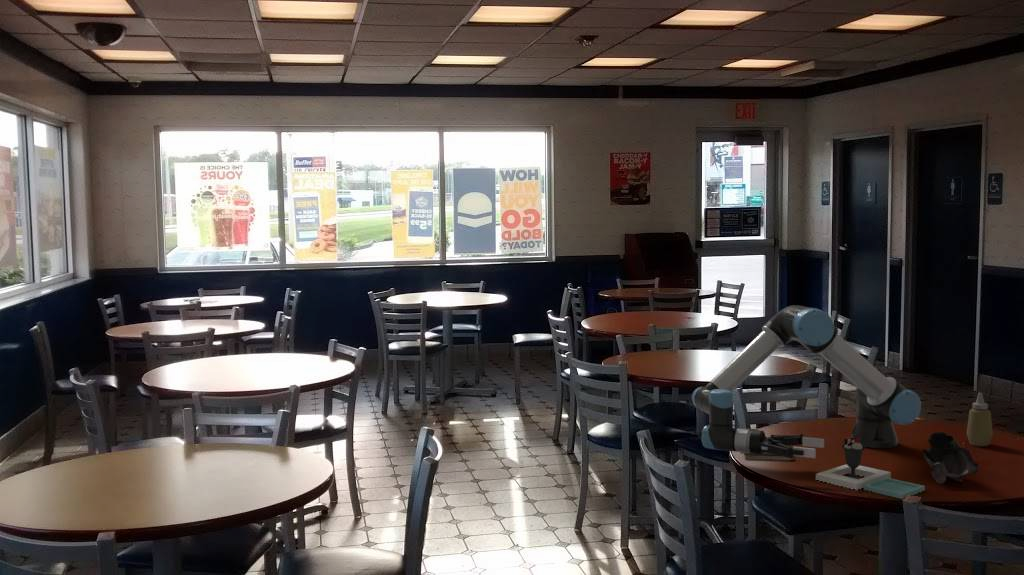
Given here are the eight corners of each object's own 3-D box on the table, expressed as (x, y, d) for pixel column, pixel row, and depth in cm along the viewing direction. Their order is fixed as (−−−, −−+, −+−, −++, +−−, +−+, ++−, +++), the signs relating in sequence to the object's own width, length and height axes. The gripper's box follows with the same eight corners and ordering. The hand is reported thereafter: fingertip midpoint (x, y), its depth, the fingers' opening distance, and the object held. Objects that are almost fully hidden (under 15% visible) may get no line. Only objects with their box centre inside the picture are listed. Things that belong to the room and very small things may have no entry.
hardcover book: (744, 460, 313) (744, 454, 313) (741, 443, 336) (741, 437, 335) (794, 462, 310) (794, 455, 310) (788, 445, 332) (788, 438, 332)
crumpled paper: (985, 486, 275) (958, 470, 295) (980, 436, 275) (953, 424, 295) (936, 490, 277) (912, 474, 296) (931, 441, 276) (908, 428, 296)
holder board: (849, 469, 298) (849, 463, 298) (890, 478, 287) (890, 472, 287) (815, 480, 287) (815, 473, 287) (857, 490, 276) (857, 483, 276)
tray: (886, 481, 284) (886, 477, 284) (924, 490, 274) (924, 486, 274) (863, 489, 277) (863, 485, 277) (902, 499, 267) (902, 494, 267)
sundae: (866, 483, 283) (867, 433, 282) (843, 482, 285) (843, 433, 284) (863, 476, 290) (863, 428, 289) (840, 476, 291) (840, 428, 290)
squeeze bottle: (967, 446, 322) (968, 394, 321) (965, 441, 330) (966, 390, 328) (993, 448, 319) (994, 396, 318) (991, 442, 327) (992, 391, 325)
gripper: (760, 444, 313) (827, 451, 302) (740, 462, 291) (811, 470, 281) (760, 421, 312) (827, 428, 302) (740, 438, 290) (811, 445, 280)
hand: (819, 448), depth 291 cm, fingers open, 13 cm apart
